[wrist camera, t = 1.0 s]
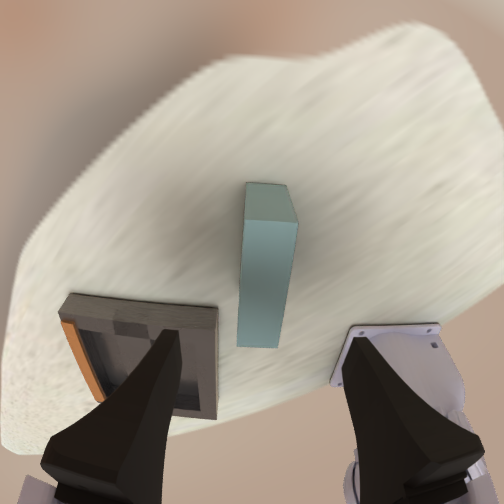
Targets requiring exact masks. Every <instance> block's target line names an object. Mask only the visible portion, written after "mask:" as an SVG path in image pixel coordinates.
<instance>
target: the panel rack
mask: <svg viewBox="0 0 504 504" xmlns="http://www.w3.org/2000/svg"><path fill="white" fill-rule="evenodd" d="M58 314H59V317H60V319H61V325H62V327H63V330H64V332H65V335H66V337H67V340H68V342H69V345H70V347H71V349H72V352H73V354H74V356H75V359H76V361H77V363H78V365H79V368H80V370H81V372H82V374H83V376H84V378H85V380H86V382H87V384H88V386H89V388H90V390H91V392H92V394H93V396H94V398H95V400H96V401H97V402H98V403H102V402H103V401H104V400H105V399H106V398H107V397H108V396H110V395H111V394H112V393H113V392H114V391H115V390H116V389H117V388H118V387H119V386H120V385H121V383H122V382H123V381H124V380H125V379H126V378H127V377H128V376H129V374H130V373H131V372H132V371H133V370H134V369H135V367H136V366H137V365H138V364H139V362H140V361H141V360H142V358H143V357H144V356H145V355H146V353H147V352H148V350H149V349H150V348H151V346H152V345H153V343H154V342H155V340H156V339H157V337H158V336H159V334H160V333H161V331H162V330H163V329H171V330H179V338H180V346H181V355H182V362H183V363H182V371H181V378H180V385H179V389H178V393H177V397H176V401H175V405H174V409H173V413H172V416H180V417H189V418H199V419H211V420H217V411H218V309H216V308H202V307H189V306H177V305H166V304H155V303H145V302H135V301H126V300H117V299H108V298H100V297H92V296H84V295H76V294H69V296H68V297H67V299H66V300H65V302H64V303H63V305H62V306H61V308H60V309H59V311H58Z"/></svg>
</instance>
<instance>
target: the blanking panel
mask: <svg viewBox="0 0 504 504" xmlns="http://www.w3.org/2000/svg"><path fill="white" fill-rule="evenodd" d="M297 230H298V220H297V217H296V214H295V211H294V208H293V205H292V202H291V199H290V196H289V193H288V190H287V187H286V185H274V184H260V183H246V195H245V209H244V224H243V240H242V255H241V271H240V287H239V306H238V328H237V347H258V348H278V343H279V338H280V332H281V327H282V321H283V316H284V310H285V304H286V298H287V293H288V287H289V281H290V275H291V269H292V262H293V256H294V250H295V243H296V237H297Z"/></svg>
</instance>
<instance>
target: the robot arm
mask: <svg viewBox="0 0 504 504" xmlns="http://www.w3.org/2000/svg"><path fill="white" fill-rule="evenodd" d="M440 330H441V326H440V324H423V325H397V326H355V327H352V328H351V329H350V331H349V334H348V336H347V339H346V342H345V345H344V347H343V350H342V353H341V355H340V358H339V360H338V363H337V365H336V368H335V370H334V373H333V375H332V378H331V380H330V386H331V387H344V391H345V395H346V399H347V403H348V406H349V411H350V414H351V418H352V422H353V426H354V430H355V435H356V441H357V448H356V449H355V450H354V454H355V460H356V461H353V462H352V463H351V464H350V465H349V466H348V468H347V471H346V475H345V478H344V484H343V486H344V487H343V488H344V496H345V500H346V503H347V504H499V501H498V498H497V495H496V492H495V488H494V485H493V482H492V480H491V476H490V474H489V473H488V470H487V467H486V462H485V459H484V456H483V455H484V453H485V450H484V448H483V445H482V443H481V440H480V438H479V436H478V435H476V434H475V433H474V431H473V429H472V427H471V425H470V423H469V421H468V419H467V417H466V415H465V414H464V413H463V412H462V410H463V407H464V403H465V388H464V383H463V379H462V377H461V375H460V373H459V371H458V369H457V367H456V366H455V363H454V362H453V360H452V358H451V356H450V354H449V352H448V351H447V349H446V347H445V345H444V344H443V342H442V340H441V338H440V336H439V335H438V334H439V333H440ZM361 331H362V332H361ZM182 363H183V362H182V355H181V346H180V338H179V330H171V329H163V330H162V331H161V333H160V334H159V336H158V337H157V339H156V340H155V342H154V343H153V345H152V346H151V348H150V349H149V350H148V352H147V353H146V355H145V356H144V357H143V358H142V360H141V361H140V362H139V364H138V365H137V366H136V367H135V369H134V370H133V371H132V372H131V373H130V374H129V376H128V377H127V378H126V379H125V380H124V381H123V382H122V383H121V385H120V386H119V387H118V388H117V389H116V390H115V391H114V392H113V393H112V394H111V395H110V396H108V397H107V398H106V399H105V400H104V401H103V402H102V403H101V404H99V405H98V406H97V407H96V408H95V409H93V410H92V411H91V412H90V413H88V414H87V415H85V416H84V417H83V418H81V419H80V420H78V421H77V422H75V423H74V424H72V425H71V426H69V427H68V428H66V429H64V430H62V431H61V432H59V433H57V434H55V435H53V436H52V437H51V438H50V440H49V442H48V444H47V446H46V448H45V451H44V454H43V457H42V460H41V463H40V465H41V467H42V469H43V470H44V471H45V472H46V473H48V474H49V475H50V476H51V477H53V478H54V479H55V480H56V481H57V482H58V485H57V488H56V487H54V486H52V485H50V484H48V483H46V482H43V481H41V480H38V479H36V478H34V477H32V476H29V475H26V477H25V480H24V483H23V487H22V490H21V493H20V496H19V500H18V503H17V504H161V503H162V502H161V501H162V483H163V469H164V459H165V450H166V441H167V435H168V429H169V425H170V421H171V417H172V413H173V409H174V405H175V401H176V397H177V393H178V389H179V385H180V378H181V371H182Z"/></svg>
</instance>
